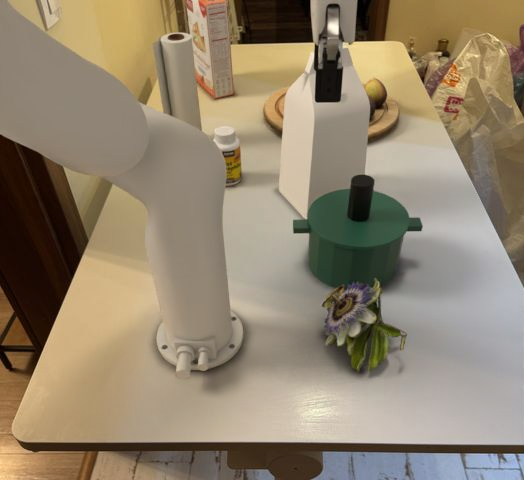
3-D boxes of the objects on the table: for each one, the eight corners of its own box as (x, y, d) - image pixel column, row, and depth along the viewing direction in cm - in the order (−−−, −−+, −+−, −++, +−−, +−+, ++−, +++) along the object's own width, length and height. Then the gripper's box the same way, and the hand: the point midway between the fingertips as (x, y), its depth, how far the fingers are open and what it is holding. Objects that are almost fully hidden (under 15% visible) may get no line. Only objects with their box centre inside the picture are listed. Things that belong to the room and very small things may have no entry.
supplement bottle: (223, 190, 102) (219, 140, 95) (209, 178, 106) (204, 128, 98) (247, 181, 104) (244, 131, 97) (233, 169, 108) (229, 121, 100)
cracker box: (194, 80, 139) (183, -12, 124) (214, 76, 141) (206, -16, 125) (212, 100, 131) (203, 3, 115) (234, 95, 132) (228, -1, 117)
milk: (331, 175, 105) (343, 32, 86) (362, 203, 98) (383, 54, 79) (278, 190, 102) (278, 44, 83) (306, 220, 95) (314, 69, 76)
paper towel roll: (204, 136, 118) (193, 30, 102) (201, 149, 114) (189, 41, 98) (173, 136, 118) (156, 31, 102) (169, 149, 114) (151, 42, 98)
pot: (420, 290, 82) (432, 246, 75) (293, 292, 82) (295, 248, 76) (404, 235, 91) (413, 192, 85) (290, 237, 92) (291, 194, 85)
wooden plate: (269, 87, 135) (269, 53, 129) (393, 89, 132) (399, 54, 126) (257, 147, 114) (255, 109, 108) (404, 150, 111) (411, 111, 105)
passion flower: (329, 360, 79) (318, 283, 77) (401, 350, 78) (392, 271, 75) (329, 382, 69) (316, 293, 66) (413, 371, 67) (403, 280, 64)
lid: (417, 252, 75) (427, 209, 70) (310, 254, 76) (312, 211, 70) (398, 194, 86) (406, 152, 80) (304, 195, 86) (306, 154, 81)
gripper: (379, -67, 49) (360, 115, 62) (365, -100, 60) (351, 59, 73) (300, -64, 49) (296, 115, 62) (300, -98, 60) (298, 60, 73)
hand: (326, 85), depth 67 cm, fingers open, 9 cm apart
